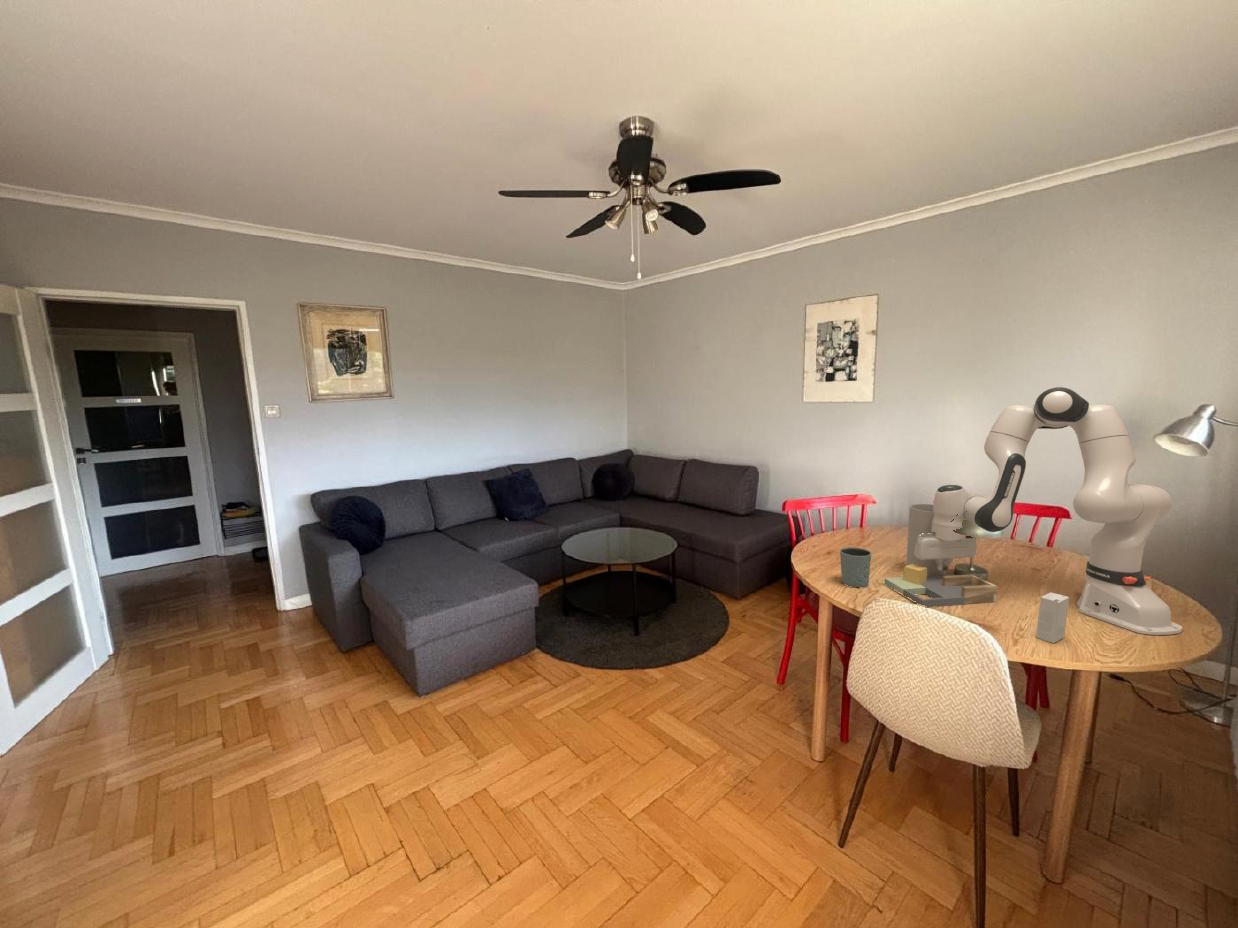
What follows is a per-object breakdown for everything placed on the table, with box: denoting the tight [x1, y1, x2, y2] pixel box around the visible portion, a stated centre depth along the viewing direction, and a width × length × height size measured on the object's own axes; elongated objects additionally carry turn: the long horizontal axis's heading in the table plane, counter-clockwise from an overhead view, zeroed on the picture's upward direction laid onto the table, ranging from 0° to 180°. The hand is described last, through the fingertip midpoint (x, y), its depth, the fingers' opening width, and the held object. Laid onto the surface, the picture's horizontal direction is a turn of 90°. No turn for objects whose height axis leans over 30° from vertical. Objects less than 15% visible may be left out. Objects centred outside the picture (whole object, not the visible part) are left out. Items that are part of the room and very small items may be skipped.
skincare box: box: [1035, 592, 1070, 644], centre depth 135 cm, size 6×4×12 cm
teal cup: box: [839, 546, 872, 588], centre depth 177 cm, size 10×10×12 cm
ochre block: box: [903, 564, 927, 585], centre depth 172 cm, size 5×5×5 cm
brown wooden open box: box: [942, 573, 998, 605], centre depth 163 cm, size 10×11×5 cm
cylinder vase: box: [905, 503, 947, 575], centre depth 183 cm, size 12×12×25 cm
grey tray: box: [884, 573, 997, 608], centre depth 167 cm, size 19×26×2 cm
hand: (943, 569), depth 173 cm, fingers closed
